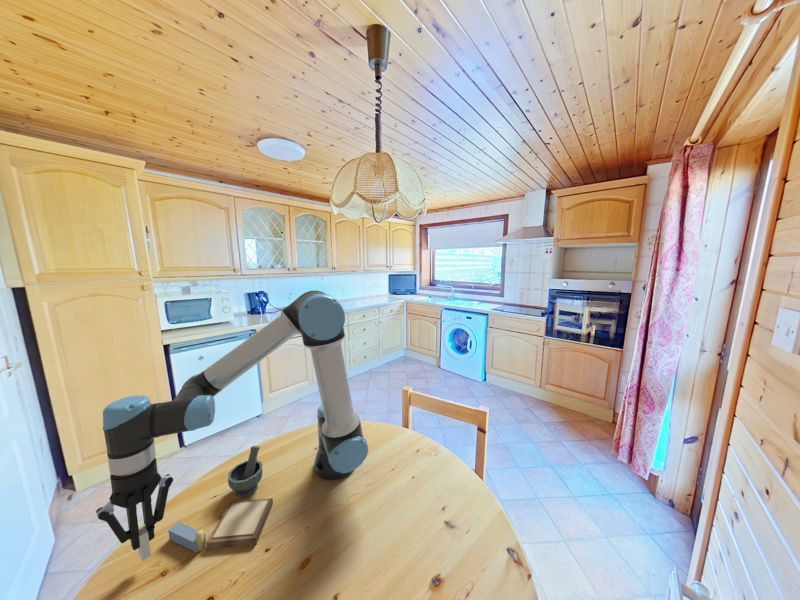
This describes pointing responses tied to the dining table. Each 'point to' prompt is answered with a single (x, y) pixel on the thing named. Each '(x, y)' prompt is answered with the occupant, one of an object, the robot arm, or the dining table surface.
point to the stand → (240, 524)
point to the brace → (187, 536)
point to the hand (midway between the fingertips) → (144, 554)
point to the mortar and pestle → (246, 475)
